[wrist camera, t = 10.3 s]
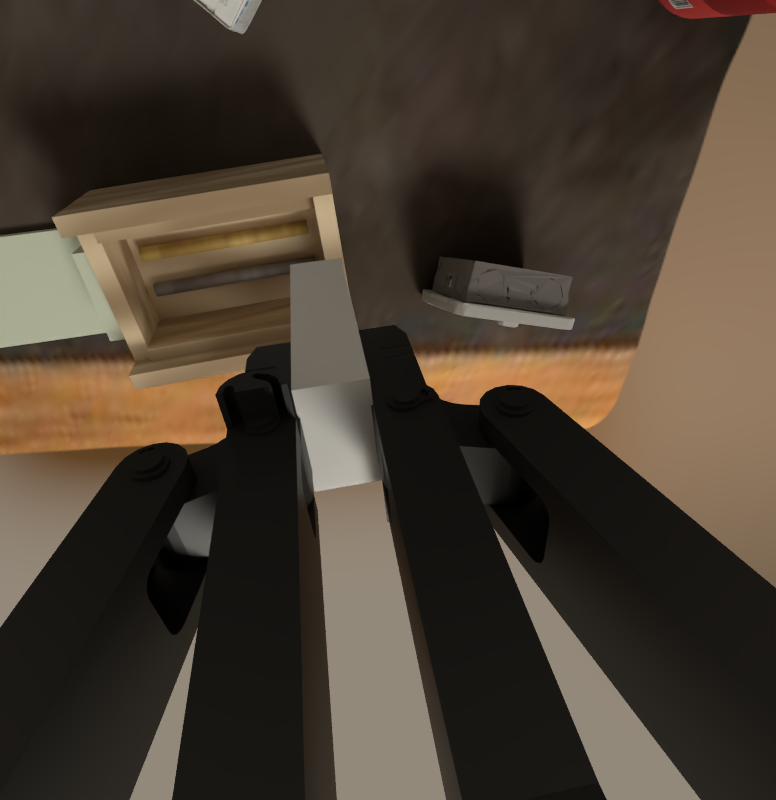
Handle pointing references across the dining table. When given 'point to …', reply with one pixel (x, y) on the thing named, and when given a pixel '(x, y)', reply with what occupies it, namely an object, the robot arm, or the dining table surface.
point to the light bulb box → (232, 12)
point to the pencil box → (205, 260)
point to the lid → (49, 291)
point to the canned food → (718, 7)
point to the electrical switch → (500, 293)
